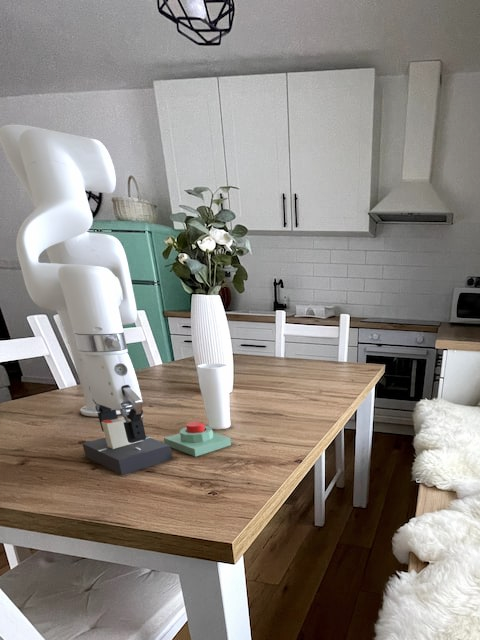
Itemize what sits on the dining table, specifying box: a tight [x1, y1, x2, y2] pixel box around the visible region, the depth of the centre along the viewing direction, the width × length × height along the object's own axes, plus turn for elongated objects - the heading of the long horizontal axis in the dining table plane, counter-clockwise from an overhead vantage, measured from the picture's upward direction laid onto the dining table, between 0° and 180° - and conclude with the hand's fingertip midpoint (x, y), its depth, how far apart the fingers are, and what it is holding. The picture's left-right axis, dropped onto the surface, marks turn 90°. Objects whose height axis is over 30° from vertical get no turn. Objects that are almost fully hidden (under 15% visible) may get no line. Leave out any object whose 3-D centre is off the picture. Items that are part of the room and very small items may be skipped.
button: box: [185, 421, 205, 433], centre depth 85 cm, size 4×4×2 cm
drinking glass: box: [196, 363, 232, 431], centre depth 95 cm, size 7×7×15 cm
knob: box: [101, 416, 143, 449], centre depth 77 cm, size 6×2×5 cm, turn 146°
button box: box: [163, 425, 232, 458], centre depth 86 cm, size 11×9×4 cm
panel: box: [81, 435, 173, 476], centre depth 78 cm, size 14×10×3 cm
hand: (124, 435), depth 77 cm, fingers open, 9 cm apart
